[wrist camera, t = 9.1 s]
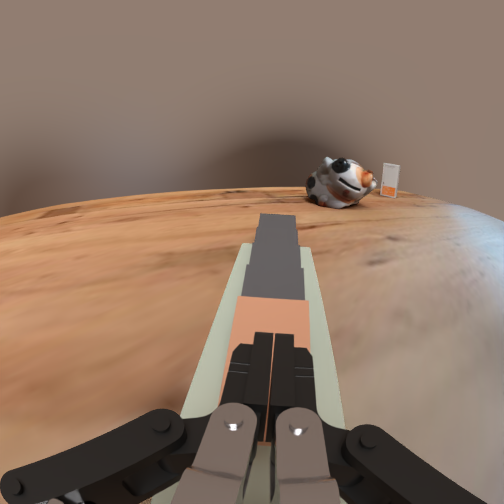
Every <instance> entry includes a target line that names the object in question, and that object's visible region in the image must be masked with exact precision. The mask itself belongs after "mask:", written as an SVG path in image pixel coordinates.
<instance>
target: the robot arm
mask: <svg viewBox="0 0 504 504" xmlns="http://www.w3.org/2000/svg"><path fill="white" fill-rule="evenodd" d="M273 335H274V333H268V332H255V334H254V341H253V344H243V343H240V344H239V345H238V346H237V347H236V348H235V349H234V351H233V352H232V356H231V360H230V365H229V369H228V373H227V377H226V381H225V385H224V389H223V393H222V397H221V401H220V404H219V406H218V407H217V408H216V409H215V410H214V411H213V412H212V413H210V414H208V415H206V416H203V417H197V418H186V419H182V418H181V417H180V415H178V414H177V413H176V412H174V411H172V410H168V409H156V410H152V411H150V412H148V413H146V414H144V415H142V416H140V417H138V418H136V419H134V420H132V421H130V422H128V423H126V424H124V425H122V426H120V427H118V428H116V429H114V430H112V431H110V432H107V433H105V434H103V435H101V436H99V437H96V438H94V439H92V440H90V441H87V442H85V443H83V444H80V445H78V446H76V447H73V448H71V449H68V450H66V451H64V452H61V453H58V454H56V455H53V456H51V457H48V458H45V459H43V460H40V461H37V462H34V463H31V464H28V465H25V466H22V467H19V468H16V469H13V470H10V471H8V472H6V473H5V474H4V475H3V476H2V478H1V481H0V490H1V494H2V496H3V498H4V499H5V500H6V502H7V503H9V504H138V503H140V502H142V501H144V500H146V499H148V498H150V497H152V496H154V495H156V494H157V493H159V492H161V491H163V490H165V489H166V488H168V487H170V486H172V485H173V484H175V483H177V482H178V481H179V484H178V486H177V489H176V491H175V494H174V496H173V499H172V501H171V504H243V503H244V499H245V495H246V491H247V487H248V482H249V478H250V474H251V470H252V465H253V461H254V458H255V456H256V452H257V444H258V442H263V441H264V433H265V425H266V417H267V408H268V418H267V429H266V440H265V442H271V451H270V458H269V504H341V503H340V497H341V498H342V499H343V500H344V501H345V502H346V503H348V504H487V503H486V502H484V501H482V500H481V499H479V498H478V497H476V496H474V495H473V494H471V493H470V492H468V491H467V490H465V489H464V488H462V487H461V486H459V485H458V484H456V483H455V482H453V481H452V480H450V479H449V478H447V477H446V476H445V475H443V474H442V473H440V472H439V471H437V470H436V469H435V468H433V467H432V466H430V465H429V464H428V463H426V462H425V461H423V460H422V459H421V458H419V457H418V456H417V455H415V454H414V453H413V452H411V451H410V450H409V449H407V448H406V447H405V446H403V445H402V444H401V443H399V442H398V441H397V440H395V439H394V438H393V437H391V436H390V435H389V434H388V433H386V432H385V431H384V430H382V429H381V428H379V427H377V426H374V425H369V424H365V425H360V426H357V427H355V428H353V429H352V430H351V431H349V430H345V429H341V428H337V427H334V426H331V425H329V424H327V423H326V422H324V421H323V420H322V419H321V417H320V416H319V414H318V412H317V405H316V391H315V378H314V369H313V368H314V366H313V357H312V355H311V354H310V352H309V351H308V349H307V348H302V347H294V334H283V333H275V340H274V351H273V361H272V349H273ZM271 362H272V371H271ZM270 374H271V384H270ZM269 386H270V396H269ZM268 398H269V407H268Z"/></svg>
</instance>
